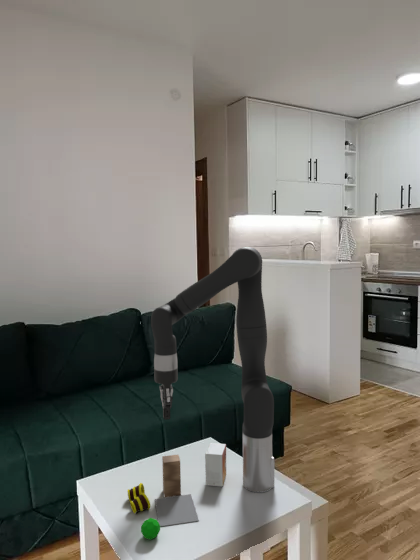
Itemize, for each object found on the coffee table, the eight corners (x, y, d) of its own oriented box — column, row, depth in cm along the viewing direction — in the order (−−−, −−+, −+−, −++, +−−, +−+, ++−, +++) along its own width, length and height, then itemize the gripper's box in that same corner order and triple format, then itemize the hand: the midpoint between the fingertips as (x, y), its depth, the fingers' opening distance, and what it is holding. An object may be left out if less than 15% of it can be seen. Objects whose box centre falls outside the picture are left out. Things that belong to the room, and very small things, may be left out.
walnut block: (179, 488, 138) (178, 454, 137) (180, 495, 134) (180, 460, 133) (163, 490, 137) (162, 456, 136) (164, 497, 133) (163, 462, 132)
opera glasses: (128, 500, 133) (125, 485, 133) (145, 493, 135) (141, 479, 134) (134, 519, 124) (130, 503, 124) (152, 511, 126) (148, 496, 125)
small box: (222, 487, 138) (222, 455, 137) (205, 485, 139) (204, 453, 138) (226, 474, 146) (226, 443, 145) (210, 472, 147) (209, 442, 146)
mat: (190, 494, 134) (190, 494, 134) (198, 521, 122) (198, 520, 122) (154, 499, 132) (154, 499, 132) (159, 527, 119) (159, 526, 119)
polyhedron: (137, 539, 114) (136, 522, 114) (149, 528, 119) (148, 512, 118) (152, 546, 112) (152, 528, 112) (164, 534, 116) (163, 517, 116)
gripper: (180, 371, 136) (181, 425, 138) (174, 360, 149) (175, 410, 151) (156, 373, 135) (157, 428, 136) (152, 362, 147) (153, 412, 149)
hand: (166, 418), depth 143 cm, fingers closed
